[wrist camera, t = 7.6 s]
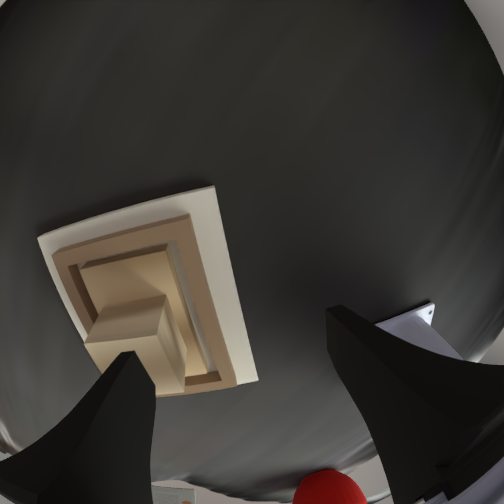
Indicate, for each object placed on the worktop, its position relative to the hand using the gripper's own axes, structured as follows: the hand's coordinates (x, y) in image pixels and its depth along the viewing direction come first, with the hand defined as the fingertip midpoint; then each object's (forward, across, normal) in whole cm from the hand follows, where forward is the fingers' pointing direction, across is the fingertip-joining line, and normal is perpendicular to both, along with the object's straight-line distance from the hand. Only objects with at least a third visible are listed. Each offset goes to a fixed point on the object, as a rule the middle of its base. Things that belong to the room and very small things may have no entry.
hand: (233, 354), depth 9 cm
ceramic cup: (+10, -4, +48) cm, 50 cm away
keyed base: (+9, +6, +3) cm, 12 cm away
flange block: (+8, +6, +3) cm, 11 cm away
